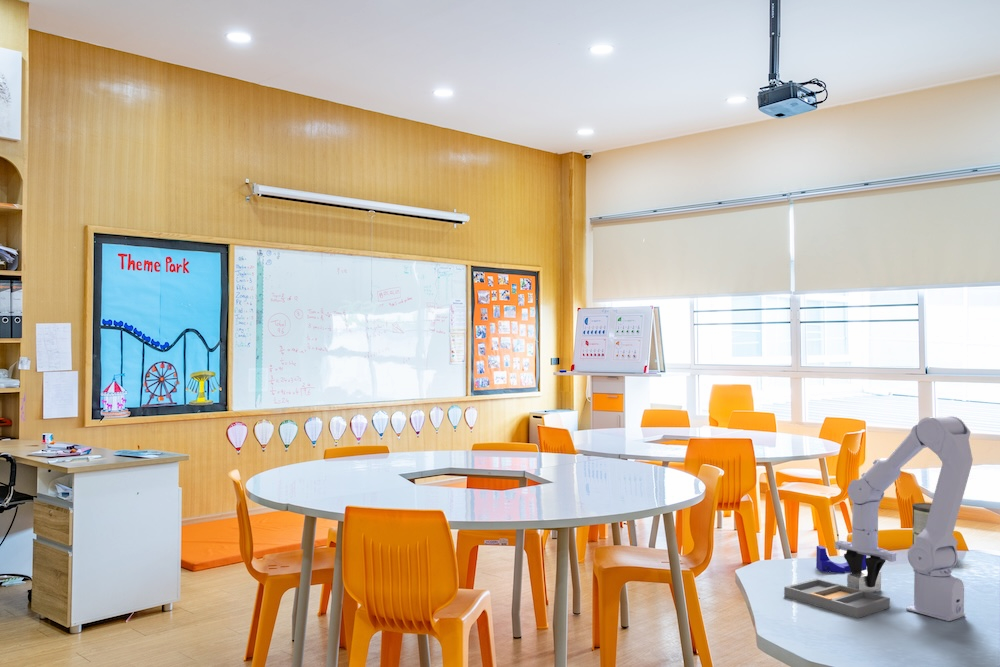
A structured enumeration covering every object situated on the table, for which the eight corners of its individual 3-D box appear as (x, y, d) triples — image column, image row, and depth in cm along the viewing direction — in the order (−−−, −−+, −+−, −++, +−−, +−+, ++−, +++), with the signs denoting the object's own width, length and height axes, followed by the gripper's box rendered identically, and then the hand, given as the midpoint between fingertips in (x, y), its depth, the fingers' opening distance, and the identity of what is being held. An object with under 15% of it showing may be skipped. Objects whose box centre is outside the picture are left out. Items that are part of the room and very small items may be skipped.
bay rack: (889, 607, 180) (889, 597, 180) (857, 618, 172) (857, 607, 172) (817, 587, 195) (817, 577, 195) (784, 596, 187) (784, 586, 187)
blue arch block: (821, 572, 210) (821, 549, 210) (816, 567, 214) (816, 545, 214) (868, 574, 209) (868, 551, 209) (862, 570, 213) (862, 547, 213)
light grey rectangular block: (880, 590, 194) (881, 571, 194) (858, 596, 188) (859, 577, 188) (869, 587, 197) (869, 569, 197) (847, 593, 191) (847, 574, 191)
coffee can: (906, 548, 239) (907, 502, 239) (942, 550, 237) (943, 503, 238) (919, 557, 228) (920, 508, 229) (957, 559, 227) (958, 510, 227)
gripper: (903, 532, 189) (902, 589, 189) (846, 521, 201) (845, 575, 201) (887, 536, 185) (887, 594, 185) (830, 524, 197) (829, 579, 197)
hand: (864, 584), depth 193 cm, fingers closed on light grey rectangular block, 3 cm apart
